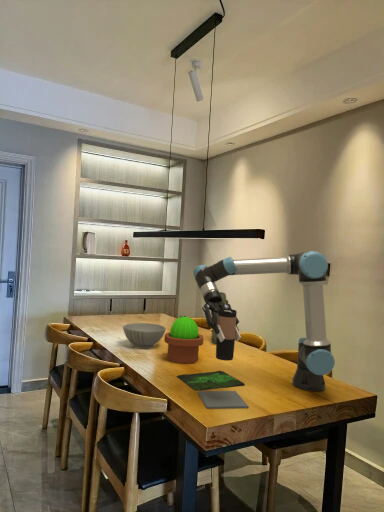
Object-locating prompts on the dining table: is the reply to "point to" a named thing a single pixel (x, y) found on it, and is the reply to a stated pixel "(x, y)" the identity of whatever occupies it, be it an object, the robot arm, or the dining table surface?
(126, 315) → the dining table surface
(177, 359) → the potted cactus
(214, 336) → the olive grey tall piece
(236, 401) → the rubber mat
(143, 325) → the decorative bowl
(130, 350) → the dining table surface
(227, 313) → the travel mug
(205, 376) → the mouse mat
